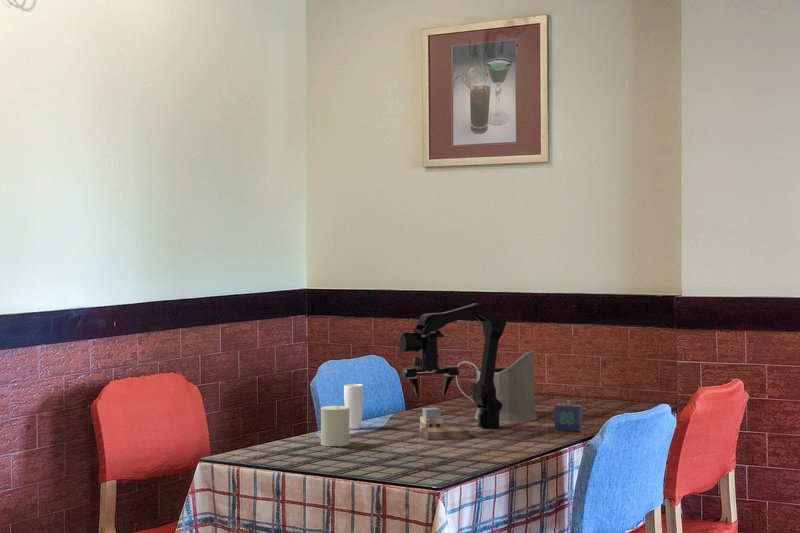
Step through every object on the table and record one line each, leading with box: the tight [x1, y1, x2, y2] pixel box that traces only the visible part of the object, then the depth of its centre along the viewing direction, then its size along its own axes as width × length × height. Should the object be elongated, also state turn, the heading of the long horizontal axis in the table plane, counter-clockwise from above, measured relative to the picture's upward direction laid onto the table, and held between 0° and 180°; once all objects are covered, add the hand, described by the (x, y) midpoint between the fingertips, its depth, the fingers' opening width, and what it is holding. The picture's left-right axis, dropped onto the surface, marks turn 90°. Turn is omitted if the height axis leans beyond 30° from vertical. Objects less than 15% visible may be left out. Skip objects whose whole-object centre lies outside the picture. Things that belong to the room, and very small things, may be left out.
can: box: [320, 405, 351, 447], centre depth 313 cm, size 9×9×12 cm
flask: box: [554, 399, 583, 433], centre depth 334 cm, size 9×3×11 cm, turn 68°
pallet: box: [419, 416, 444, 432], centre depth 334 cm, size 6×8×5 cm
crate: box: [421, 407, 442, 419], centre depth 334 cm, size 5×5×3 cm
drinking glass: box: [343, 383, 364, 430], centre depth 344 cm, size 7×7×15 cm
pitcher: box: [455, 350, 538, 423], centre depth 370 cm, size 23×32×25 cm
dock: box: [420, 425, 471, 441], centre depth 325 cm, size 14×9×2 cm, turn 103°
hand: (430, 397), depth 335 cm, fingers open, 9 cm apart
